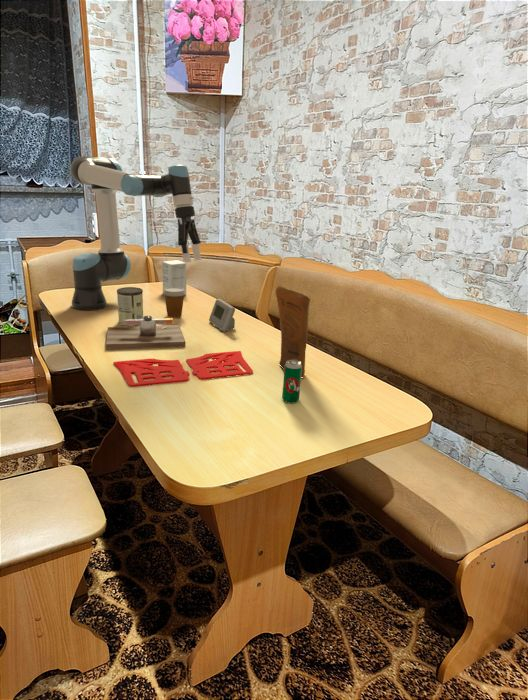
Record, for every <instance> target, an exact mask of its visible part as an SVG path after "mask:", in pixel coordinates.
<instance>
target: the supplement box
mask: <svg viewBox="0 0 528 700" xmlns="http://www.w3.org/2000/svg"><path fill="white" fill-rule="evenodd" d="M161 270H162V272H161V273H162V293H163V292H164V289H165V288H169V287H178V288H183V289H184V291H185V295H184V296H186V295H187V262H184V261H181V260H178V259H175V260H166V261H165V260H164V261H161Z"/></svg>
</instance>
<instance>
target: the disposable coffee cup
mask: <svg viewBox="0 0 528 700" xmlns="http://www.w3.org/2000/svg"><path fill="white" fill-rule="evenodd" d="M162 293H163V295H164V300H165V301H164V302H165V309H166V315H167V317H168V318H180V317H182V314H183V307H184V306H183V305H184V298H185V296H186V295H185V291H184V289H183V288H178V287H169V288H165V289H164V292H163V291H162Z"/></svg>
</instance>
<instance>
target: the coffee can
mask: <svg viewBox="0 0 528 700" xmlns="http://www.w3.org/2000/svg"><path fill="white" fill-rule="evenodd" d="M143 291H144V290H143V288H141V287H135V286H134V287H133V286H127V287H126V286H125V287H119V288H117V289H116V295H117V315H118V324H119V325H121V326H123V327H135V326H140V324H138V325H123V320H124V319H141V318H144V306H143V305H144V300H143V299H144V298H143Z"/></svg>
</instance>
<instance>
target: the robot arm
mask: <svg viewBox="0 0 528 700" xmlns="http://www.w3.org/2000/svg"><path fill="white" fill-rule="evenodd" d="M167 169H168V173H167V174H165V175H144V174H143V175H142V174H135V173H130V172H126V171H123V169H122V166H121V165H120V163H119V162H118V161H117V160H116V159H114V158H109V157H105V156H102V157H99V156H88V155H87V156H86V155H85V156H83V155H82V156H79V157H77V158H75V159H74V160H72V162H71V165H70V170H69V171H70V174H71V176H72V178H73V180H74V181H75V182H77V183H79V184H80V185H81V184H82V185H84V186H85V185H86V186H91V190H92V192H94V194H95V198H96V199H95V200H96V210H97V221H98V230H99V238H100V239H99V241H100V249H99V250H98V251H97V252H98V253H95V252H94V253H92V252H91V253H90V252H89V253H81V254H79V255H77V256H75V257H74V258H73V259H72V271H73V272H72V273H73V282H74V283H73V285H74V291H73V296H72V299H71V307H72V309H76V310H78V311H79V310H80V311H95V310H101V309H104V308H106V307H107V305H108V304H107V299H106V297H105V294H104V292H103V289H102V285H103V284H102V283H103V282H108V281H114V280H116V281H117V280H118V281H119V280H121V279H125V278H126V277H127V276H128V275H129V274H130V271H131V260H130V259H129V256H128V255H127V253H126V254H125V251H124V249H123V248H122V247H121V242H120V241H121V239H120V230H119V219H118V218H119V216H118V205H117V197H116V196H117V195H116V194H117V192H118V191H119V192H123V193H124V195H126V196H131V197H137V196H139V197H140V196H142V197H143V196H144V197H145V196H147V197H153V198H163V197H165V196H169V195H172V201H173V207H175V209H174V213H175V217H176V219H177V226H178V227H177V229H178V230H177V232H178V233H177V234H178V236H177V245H178V246H180V248H181V254H182V259H183V261H182V262H184V263H188V262H191V254H190V247H189V244H188V240H189V239H188V236H189V238H190V241H191V243H192V244H191V246H192V248H191V249H192V255H193V260H194V261H201V260H202V257H201V250H200V244H201V240H200V236H199V233H198V230H197V226H196V221H195V219H192V218H193V217H194V216H195V215H196V213H195V207H194V206H193V205H194V201H193V200H194V196H193V195H192V187H191V181H190V174H189V173H190V172H189V169H188V167H187V165H185V164H176V165H171V166H169V167H168V168H167Z"/></svg>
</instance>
